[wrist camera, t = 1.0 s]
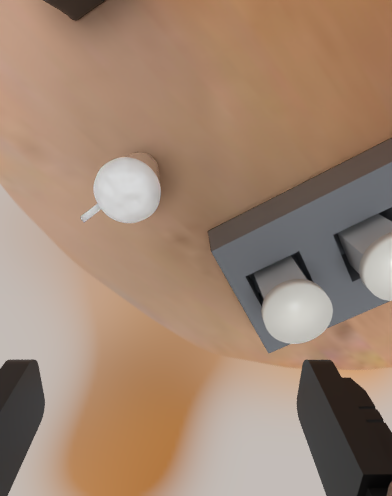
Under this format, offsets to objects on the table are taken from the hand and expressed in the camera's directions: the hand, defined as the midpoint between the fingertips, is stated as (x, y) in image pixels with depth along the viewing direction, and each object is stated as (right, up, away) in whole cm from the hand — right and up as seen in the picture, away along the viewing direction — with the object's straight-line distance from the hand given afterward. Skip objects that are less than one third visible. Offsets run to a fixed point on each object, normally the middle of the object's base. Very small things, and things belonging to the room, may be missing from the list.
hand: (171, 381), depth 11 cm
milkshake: (-5, +11, +21) cm, 24 cm away
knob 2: (+15, +5, +20) cm, 26 cm away
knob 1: (+8, +1, +21) cm, 23 cm away
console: (+15, +6, +23) cm, 29 cm away
